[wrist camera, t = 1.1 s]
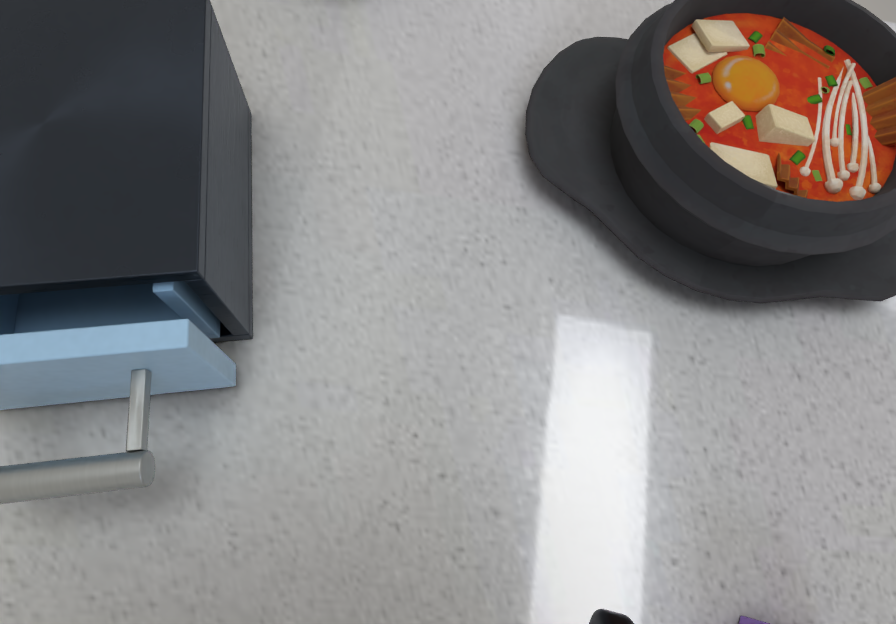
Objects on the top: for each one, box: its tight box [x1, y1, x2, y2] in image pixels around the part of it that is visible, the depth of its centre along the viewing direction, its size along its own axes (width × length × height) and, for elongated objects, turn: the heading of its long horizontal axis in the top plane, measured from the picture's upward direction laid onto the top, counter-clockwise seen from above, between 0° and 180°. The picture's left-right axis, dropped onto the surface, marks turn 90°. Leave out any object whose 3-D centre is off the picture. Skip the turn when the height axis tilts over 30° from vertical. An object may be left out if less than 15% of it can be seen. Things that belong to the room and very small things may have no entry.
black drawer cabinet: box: [0, 0, 253, 342], centre depth 27 cm, size 15×13×9 cm
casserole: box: [525, 0, 896, 303], centre depth 31 cm, size 25×19×8 cm
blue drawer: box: [0, 281, 236, 504], centre depth 25 cm, size 18×11×7 cm, turn 7°
